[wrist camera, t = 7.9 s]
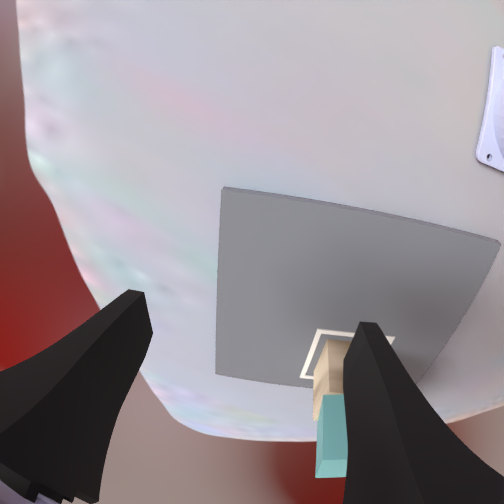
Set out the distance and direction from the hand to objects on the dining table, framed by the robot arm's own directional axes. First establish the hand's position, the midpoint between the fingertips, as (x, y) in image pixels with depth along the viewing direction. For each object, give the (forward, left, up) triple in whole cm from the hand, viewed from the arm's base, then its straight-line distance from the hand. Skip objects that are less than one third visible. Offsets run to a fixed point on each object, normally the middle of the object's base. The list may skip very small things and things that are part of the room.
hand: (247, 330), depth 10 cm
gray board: (-7, +8, -10) cm, 14 cm away
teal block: (-8, +12, -4) cm, 15 cm away
